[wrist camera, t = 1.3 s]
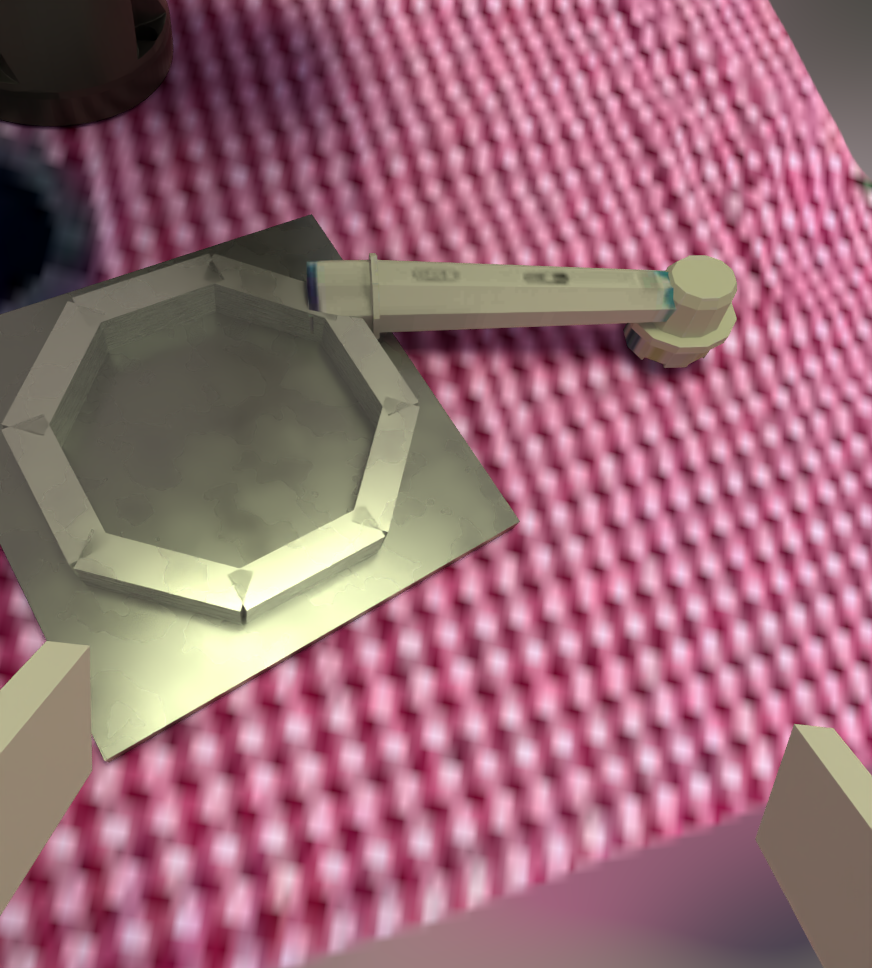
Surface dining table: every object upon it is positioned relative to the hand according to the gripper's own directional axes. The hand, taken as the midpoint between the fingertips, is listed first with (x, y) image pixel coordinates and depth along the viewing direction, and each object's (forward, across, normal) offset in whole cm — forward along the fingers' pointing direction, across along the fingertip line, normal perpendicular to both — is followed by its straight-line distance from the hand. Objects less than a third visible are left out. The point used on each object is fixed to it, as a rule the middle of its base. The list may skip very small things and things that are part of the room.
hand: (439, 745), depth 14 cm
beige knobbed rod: (+34, +4, +4) cm, 34 cm away
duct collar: (+25, -10, -3) cm, 27 cm away
